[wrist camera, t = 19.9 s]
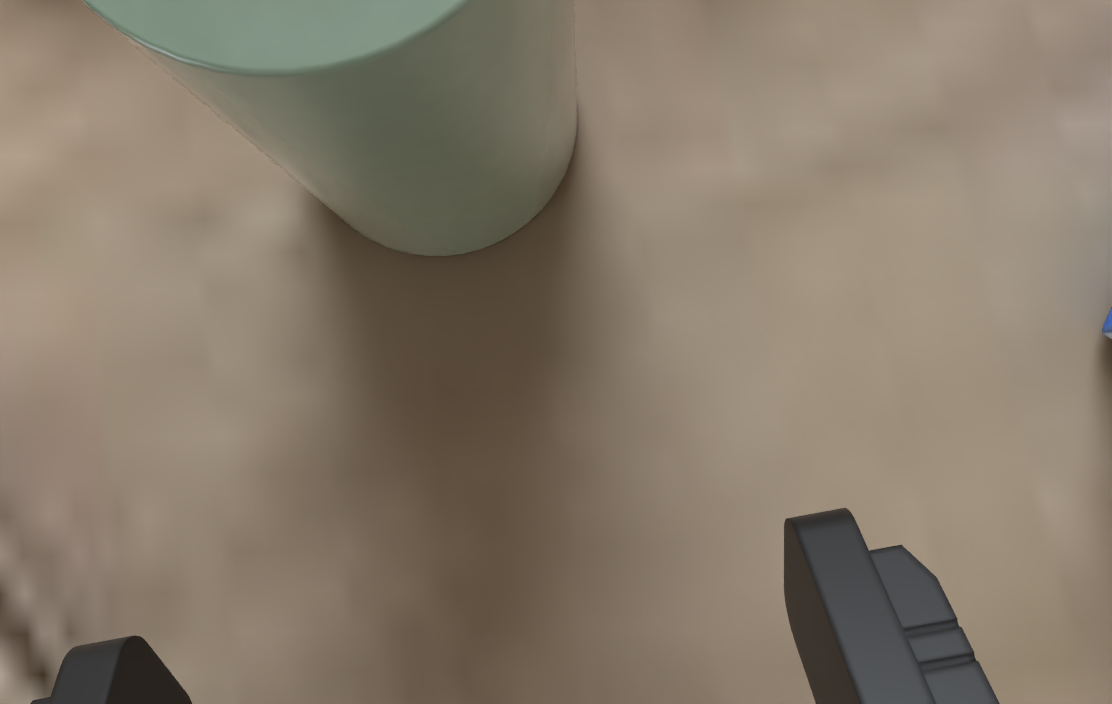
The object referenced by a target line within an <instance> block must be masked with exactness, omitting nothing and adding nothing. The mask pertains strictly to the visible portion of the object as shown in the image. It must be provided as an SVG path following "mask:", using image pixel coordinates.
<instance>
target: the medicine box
mask: <svg viewBox="0 0 1112 704" xmlns="http://www.w3.org/2000/svg"><path fill="white" fill-rule="evenodd" d="M1102 332H1103V334H1104V335H1106V336H1107V337H1109V338H1110V339H1112V308H1111V310H1110V313H1109V315H1108V317H1107V319H1106V321H1105V323H1104V326H1103V328H1102Z"/></svg>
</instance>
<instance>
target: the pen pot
mask: <svg viewBox="0 0 1112 704" xmlns="http://www.w3.org/2000/svg"><path fill="white" fill-rule="evenodd" d="M82 2H83V3H84V4H85V5H86V6H87V7H88V8H89V9H90V10H92V11H93V12H94V13H95V14H96V15H98V16H99V17H100V18H101V19H102V20H104V21H105V22H106V23H107V24H108V25H110V26H111V27H112V28H113V29H114V30H116V31H117V32H118V33H119V34H120V35H122V36H123V37H124V38H125V39H126V40H128V41H129V42H130V43H131V44H132V45H134V46H135V47H136V48H137V49H138V50H140V51H141V52H142V53H143V54H144V55H146V56H147V57H148V58H149V59H150V60H152V61H153V62H154V63H155V64H156V65H158V66H159V67H160V68H161V69H163V70H164V71H165V72H166V73H167V74H169V75H170V76H171V77H172V78H173V79H175V80H176V81H177V82H178V83H179V84H181V85H182V86H183V87H184V88H185V89H187V90H188V91H189V92H190V93H191V94H193V95H194V96H195V97H196V98H197V99H199V100H200V101H201V102H202V103H203V104H205V105H206V106H207V107H208V108H209V109H211V110H212V111H213V112H214V113H215V114H217V115H218V116H219V117H220V118H221V119H223V120H224V121H225V122H226V123H227V124H229V125H230V126H231V127H232V128H233V129H235V130H236V131H237V132H238V133H239V134H241V135H242V136H243V137H244V138H245V139H247V140H248V141H249V142H250V143H251V144H253V145H254V146H255V147H256V148H257V149H259V150H260V151H261V152H262V153H263V154H265V155H266V156H267V157H268V158H269V159H271V160H272V161H273V162H274V163H275V164H277V165H278V166H279V167H280V168H281V169H283V170H284V171H285V172H286V173H287V174H289V175H290V176H291V177H292V178H293V179H295V180H296V181H297V182H298V183H299V184H301V185H302V186H303V187H304V188H305V189H307V190H308V191H309V192H310V193H311V194H313V195H314V196H315V197H316V198H317V199H319V200H320V201H321V202H322V203H323V204H325V205H326V206H327V207H328V208H329V209H331V210H332V211H333V212H334V213H335V214H337V215H338V216H339V217H340V218H341V219H343V220H344V221H345V222H346V223H347V224H349V225H350V226H351V227H352V228H354V229H355V230H356V231H357V232H359V233H361V234H362V235H364V236H366V237H367V238H369V239H371V240H372V241H374V242H377V243H379V244H381V245H384V246H386V247H388V248H391V249H394V250H398V251H401V252H405V253H410V254H417V255H423V256H448V255H457V254H463V253H467V252H471V251H475V250H479V249H482V248H485V247H487V246H490V245H492V244H495V243H497V242H499V241H501V240H503V239H504V238H506V237H508V236H510V235H512V234H513V233H515V232H516V231H517V230H519V229H520V228H522V227H523V226H524V225H526V224H527V223H528V222H529V221H530V220H531V219H532V218H533V217H534V216H536V215H537V214H538V213H539V212H540V211H541V210H542V208H543V207H544V206H545V205H546V203H547V202H548V201H549V200H550V198H551V197H552V196H553V194H554V193H555V191H556V189H557V188H558V186H559V185H560V183H561V181H562V179H563V177H564V175H565V172H566V170H567V168H568V166H569V163H570V160H571V156H572V153H573V149H574V145H575V139H576V132H577V80H576V45H575V11H574V0H82Z"/></svg>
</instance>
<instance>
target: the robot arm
mask: <svg viewBox="0 0 1112 704" xmlns="http://www.w3.org/2000/svg"><path fill="white" fill-rule="evenodd" d="M784 594H785V602H786V608H787V613H788V618H789V622H790V626H791V630H792V633H793V637H794V640H795V643H796V646H797V649H798V652H799V655H800V658H801V661H802V664H803V667H804V669H805V672H806V675H807V678H808V681H809V684H810V687H811V690H812V693H813V696H814V699H815V702H816V704H999V702H998V700H997V698H996V696H995V694H994V692H993V690H992V688H991V686H990V684H989V682H988V680H987V678H986V675H985V673H984V671H983V669H982V667H981V665H980V663H979V661H976V659H975V657H974V651H973V649H972V647H971V645H970V643H969V641H968V639H967V637H966V635H965V633H964V631H963V629H962V627H959V625H958V622H957V617H956V615H955V613H954V611H953V609H952V607H951V605H950V603H949V601H948V599H947V597H946V595H945V593H944V591H943V589H942V587H941V585H940V583H939V581H938V579H937V577H936V576H934V575H933V574H932V573H931V572H930V571H929V570H928V569H927V568H926V567H925V566H924V565H923V564H922V563H921V562H919V561H918V560H917V559H916V558H915V557H914V556H913V555H912V554H911V553H910V552H909V551H908V550H907V549H905V548H904V547H903V546H902V545H898V546H892V547H887V548H881V549H876V550H870V551H869V550H868V548H867V546H866V543H865V541H864V539H863V536H862V534H861V532H860V530H859V527H858V525H857V523H856V521H855V519H854V517H853V515H852V514H851V512H850V511H849V510H848V509H846V508H842V509H836V510H831V511H825V512H820V513H814V514H809V515H804V516H798V517H793V518H787V519H786V520H785V524H784ZM31 704H192V702H191V700H190V698H189V696H188V694H187V693H186V691H185V690H184V689H183V688H182V686H181V685H180V684H179V683H178V681H177V680H176V679H175V677H174V676H173V675H172V674H171V672H170V671H169V670H168V669H167V667H166V666H165V665H164V663H163V662H162V661H161V660H160V658H159V657H158V656H157V655H156V653H155V652H154V651H153V649H152V648H151V647H150V646H149V644H148V643H147V642H146V641H145V640H144V639H143V638H142V637H140V636H129V637H124V638H119V639H113V640H108V641H102V642H97V643H91V644H86V645H80V646H76V647H74V648H72V649H71V650H70V651H69V652H68V653H67V654H66V656H65V658H64V659H63V661H62V664H61V667H60V670H59V673H58V676H57V679H56V682H55V685H54V688H53V691H52V694H51V697H49V698H43V699H38V700H33V701H32V702H31Z"/></svg>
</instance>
